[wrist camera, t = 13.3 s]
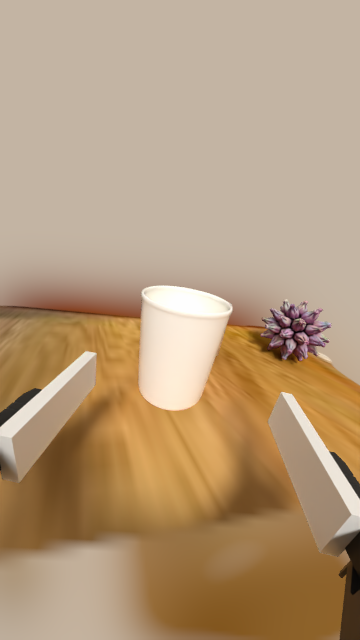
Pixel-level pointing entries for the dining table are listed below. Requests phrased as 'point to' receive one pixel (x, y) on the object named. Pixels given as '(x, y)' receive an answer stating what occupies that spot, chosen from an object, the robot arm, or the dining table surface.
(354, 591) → the robot arm
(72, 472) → the dining table surface
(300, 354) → the flower
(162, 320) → the white cream cup
